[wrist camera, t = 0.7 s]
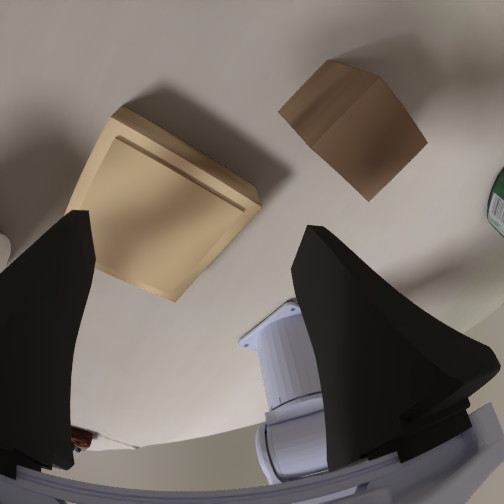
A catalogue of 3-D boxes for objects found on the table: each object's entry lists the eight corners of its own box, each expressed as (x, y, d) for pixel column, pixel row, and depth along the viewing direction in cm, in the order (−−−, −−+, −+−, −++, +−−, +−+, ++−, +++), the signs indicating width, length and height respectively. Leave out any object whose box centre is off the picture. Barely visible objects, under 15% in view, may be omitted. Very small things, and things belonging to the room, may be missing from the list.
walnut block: (372, 108, 17) (428, 142, 12) (327, 153, 19) (368, 201, 14) (327, 60, 14) (380, 76, 10) (277, 111, 16) (310, 148, 12)
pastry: (94, 431, 53) (93, 454, 48) (89, 439, 58) (89, 459, 54) (50, 419, 48) (48, 442, 43) (51, 429, 53) (49, 449, 49)
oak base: (255, 186, 20) (262, 209, 18) (175, 278, 24) (175, 304, 22) (121, 105, 14) (109, 117, 12) (63, 225, 19) (51, 249, 17)
